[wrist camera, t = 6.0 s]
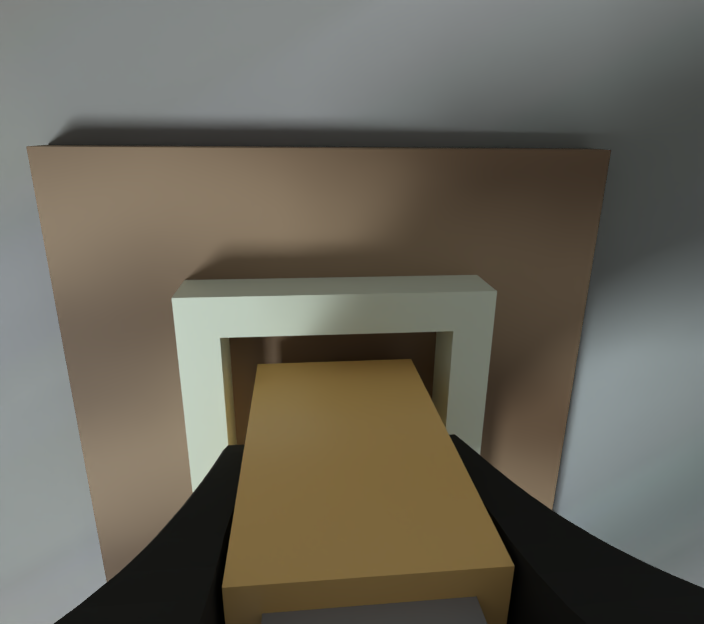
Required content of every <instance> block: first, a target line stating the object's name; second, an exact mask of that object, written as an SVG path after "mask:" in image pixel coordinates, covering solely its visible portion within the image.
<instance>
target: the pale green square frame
mask: <svg viewBox="0 0 704 624" xmlns="http://www.w3.org/2000/svg"><path fill="white" fill-rule="evenodd" d="M496 297H497V291H496V290H495V289H494V288H493V287H491V286H490V285H489V284H488V283H486V282H485V281H484V280H483V279H482V278H480V277H479V276H478V275H438V276H382V277H326V278H270V279H214V280H184V282H183V283H182V284H181V286H180V287H179V288H178V290H177V291H176V293H175V294H174V295H173V297H172V307H173V317H174V326H175V335H176V344H177V354H178V363H179V372H180V381H181V391H182V400H183V409H184V418H185V428H186V437H187V446H188V455H189V465H190V474H191V483H192V492H194V491H195V489H196V488H197V487H198V486H199V484H200V483H201V482H202V480H203V479H204V478H205V476H206V475H207V473H208V472H209V471H210V469H211V468H212V466H213V465H214V463H215V462H216V460H217V459H218V457H219V456H220V454H221V453H222V451H223V450H224V449H225V448H226V447H227V446H228V445H237V440H236V426H235V412H234V398H233V384H232V370H231V357H230V343H229V338H232V337H267V336H302V335H337V334H372V333H408V332H436V347H435V362H434V377H433V392H432V402H433V404H434V406H435V408H436V410H437V412H438V414H439V416H440V418H441V420H442V422H443V424H444V426H445V428H446V430H447V432H448V434H449V435H451V434H455V435H456V436H458V437H459V438H460V439H461V440H463V441H464V442H465V443H466V444H467V445H469V446H470V447H471V448H472V449H473V450H475V451H476V452H477V453H478V454H479V455H480V451H481V441H482V431H483V422H484V412H485V403H486V393H487V383H488V374H489V364H490V355H491V345H492V336H493V326H494V316H495V307H496Z"/></svg>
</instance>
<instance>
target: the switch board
mask: <svg viewBox="0 0 704 624" xmlns="http://www.w3.org/2000/svg"><path fill="white" fill-rule="evenodd" d="M27 153H28V158H29V164H30V169H31V174H32V180H33V185H34V191H35V196H36V201H37V207H38V212H39V218H40V223H41V228H42V234H43V239H44V245H45V250H46V256H47V261H48V266H49V272H50V277H51V283H52V288H53V293H54V299H55V304H56V310H57V315H58V320H59V326H60V331H61V337H62V342H63V348H64V353H65V358H66V364H67V369H68V375H69V380H70V385H71V391H72V396H73V402H74V407H75V412H76V418H77V423H78V429H79V434H80V440H81V445H82V450H83V456H84V461H85V467H86V472H87V477H88V483H89V488H90V494H91V499H92V504H93V510H94V515H95V521H96V526H97V532H98V537H99V542H100V548H101V553H102V559H103V564H104V569H105V575H106V580H107V582H108V581H109V580H110V579H112V578H113V577H114V576H115V575H116V574H118V573H119V572H120V571H121V570H122V569H123V568H124V567H125V566H126V565H127V564H129V563H130V562H131V561H132V560H133V559H134V558H135V557H136V556H137V555H138V554H139V553H140V552H141V551H142V550H143V549H144V548H145V547H146V546H147V545H148V544H149V543H150V542H151V541H152V540H153V539H154V538H155V537H156V536H157V535H158V533H159V532H160V531H161V530H162V529H163V528H164V527H165V526H166V524H167V523H168V522H169V521H170V520H171V519H172V518H173V516H174V515H175V514H176V513H177V512H178V511H179V510H180V508H181V507H182V506H183V505H184V504H185V502H186V501H187V500H188V498H189V497H190V496H191V495H192V493H193V492H192V483H191V474H190V465H189V455H188V446H187V437H186V428H185V418H184V409H183V400H182V391H181V381H180V372H179V363H178V354H177V344H176V335H175V326H174V317H173V307H172V297H173V295H174V294H175V293H176V291H177V290H178V288H179V287H180V286H181V284H182V283H183V282H184V280H214V279H270V278H326V277H382V276H438V275H478V276H479V277H480V278H482V279H483V280H484V281H485V282H486V283H488V284H489V285H490V286H491V287H493V288H494V289H495V290H496V291H497V297H496V307H495V316H494V326H493V336H492V345H491V355H490V364H489V374H488V383H487V393H486V403H485V412H484V422H483V431H482V441H481V451H480V456H482V457H483V458H484V459H485V460H486V461H488V462H489V463H490V464H491V465H492V466H494V467H495V468H496V469H497V470H499V471H500V472H501V473H502V474H504V475H505V476H506V477H507V478H509V479H510V480H511V481H512V482H514V483H515V484H516V485H518V486H519V487H520V488H522V489H523V490H524V491H526V492H527V493H528V494H530V495H531V496H532V497H534V498H535V499H537V500H538V501H540V502H541V503H542V504H544V505H545V506H547V507H548V508H550V509H551V510H552V508H553V502H554V496H555V490H556V484H557V478H558V472H559V465H560V459H561V453H562V447H563V441H564V435H565V429H566V423H567V416H568V410H569V404H570V398H571V392H572V386H573V380H574V374H575V368H576V361H577V355H578V349H579V343H580V337H581V331H582V325H583V319H584V313H585V306H586V300H587V294H588V288H589V282H590V276H591V270H592V264H593V257H594V251H595V245H596V239H597V233H598V227H599V221H600V215H601V209H602V202H603V196H604V190H605V184H606V178H607V172H608V166H609V160H610V153H611V150H603V149H575V148H418V147H262V146H106V145H41V146H27ZM229 343H230V357H231V370H232V384H233V398H234V412H235V426H236V440H237V445H244V444H245V440H246V433H247V427H248V421H249V415H250V408H251V402H252V396H253V390H254V383H255V377H256V371H257V365H258V364H277V363H306V362H336V361H365V360H395V359H411V360H412V362H413V364H414V366H415V368H416V370H417V372H418V374H419V376H420V378H421V380H422V382H423V384H424V386H425V388H426V390H427V392H428V394H429V396H430V398H431V400H432V392H433V377H434V362H435V347H436V332H408V333H372V334H337V335H302V336H267V337H232V338H229Z"/></svg>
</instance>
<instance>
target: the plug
mask: <svg viewBox="0 0 704 624" xmlns="http://www.w3.org/2000/svg"><path fill="white" fill-rule="evenodd" d="M514 567H515V566H514V564H513V562H512V560H511V558H510V556H509V554H508V552H507V550H506V548H505V546H504V544H503V542H502V540H501V538H500V536H499V534H498V532H497V530H496V528H495V526H494V524H493V522H492V520H491V518H490V516H489V514H488V512H487V510H486V508H485V506H484V504H483V502H482V500H481V498H480V496H479V494H478V492H477V490H476V488H475V486H474V484H473V482H472V480H471V478H470V476H469V474H468V472H467V470H466V468H465V466H464V464H463V462H462V460H461V458H460V456H459V454H458V452H457V450H456V448H455V446H454V444H453V442H452V440H451V438H450V436H449V434H448V432H447V430H446V428H445V426H444V424H443V422H442V420H441V418H440V416H439V414H438V412H437V410H436V408H435V406H434V404H433V402H432V400H431V398H430V396H429V394H428V392H427V390H426V388H425V386H424V384H423V382H422V380H421V378H420V376H419V374H418V372H417V370H416V368H415V366H414V364H413V362H412V360H411V359H395V360H365V361H336V362H306V363H277V364H258V365H257V371H256V377H255V383H254V390H253V396H252V402H251V408H250V415H249V421H248V427H247V433H246V440H245V446H244V452H243V458H242V465H241V471H240V477H239V483H238V490H237V496H236V502H235V508H234V515H233V521H232V527H231V533H230V540H229V546H228V552H227V559H226V565H225V571H224V577H223V584H222V595H223V606H224V617H225V624H507V617H508V610H509V603H510V596H511V588H512V581H513V574H514Z"/></svg>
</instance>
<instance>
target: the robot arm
mask: <svg viewBox="0 0 704 624" xmlns="http://www.w3.org/2000/svg"><path fill="white" fill-rule="evenodd" d="M449 436H450V438H451V440H452V442H453V444H454V446H455V448H456V450H457V452H458V454H459V456H460V458H461V460H462V462H463V464H464V466H465V468H466V470H467V472H468V474H469V476H470V478H471V480H472V482H473V484H474V486H475V488H476V490H477V492H478V494H479V496H480V498H481V500H482V502H483V504H484V506H485V508H486V510H487V512H488V514H489V516H490V518H491V520H492V522H493V524H494V526H495V528H496V530H497V532H498V534H499V536H500V538H501V540H502V542H503V544H504V546H505V548H506V550H507V552H508V554H509V556H510V558H511V560H512V562H513V564H514V566H515V567H514V574H513V581H512V588H511V596H510V603H509V610H508V617H507V624H704V588H702V587H700V586H697V585H695V584H692V583H690V582H688V581H685V580H683V579H680V578H678V577H675V576H673V575H671V574H669V573H666V572H664V571H662V570H660V569H658V568H655V567H653V566H651V565H649V564H647V563H645V562H643V561H641V560H639V559H637V558H635V557H633V556H631V555H629V554H627V553H625V552H623V551H621V550H619V549H617V548H615V547H613V546H611V545H609V544H607V543H605V542H604V541H602V540H600V539H598V538H596V537H595V536H593V535H591V534H590V533H588V532H586V531H585V530H583V529H581V528H580V527H578V526H576V525H574V524H573V523H571V522H569V521H568V520H566V519H565V518H563V517H562V516H560V515H558V514H557V513H555V512H554V511H552V510H551V509H550V508H548V507H547V506H545V505H544V504H542V503H541V502H540V501H538V500H537V499H535V498H534V497H532V496H531V495H530V494H528V493H527V492H526V491H524V490H523V489H522V488H520V487H519V486H518V485H516V484H515V483H514V482H512V481H511V480H510V479H509V478H507V477H506V476H505V475H504V474H502V473H501V472H500V471H499V470H497V469H496V468H495V467H494V466H492V465H491V464H490V463H489V462H488V461H486V460H485V459H484V458H483V457H482V456H480V455H479V454H478V453H477V452H476V451H475V450H473V449H472V448H471V447H470V446H469V445H467V444H466V443H465V442H464V441H463V440H461V439H460V438H459V437H458V436H456V435H455V434H451V435H449ZM244 446H245V444H244V445H228V446H227V447H226V448H225V449H224V450H223V451H222V453H221V454H220V456H219V457H218V459H217V460H216V462H215V463H214V465H213V466H212V468H211V469H210V471H209V472H208V473H207V475H206V476H205V478H204V479H203V480H202V482H201V483H200V484H199V486H198V487H197V488H196V489H195V491H194V492H193V493H192V495H191V496H190V497H189V498H188V500H187V501H186V502H185V504H184V505H183V506H182V507H181V508H180V510H179V511H178V512H177V513H176V514H175V515H174V516H173V518H172V519H171V520H170V521H169V522H168V523H167V524H166V526H165V527H164V528H163V529H162V530H161V531H160V532H159V533H158V535H157V536H156V537H155V538H154V539H153V540H152V541H151V542H150V543H149V544H148V545H147V546H146V547H145V548H144V549H143V550H142V551H141V552H140V553H139V554H138V555H137V556H136V557H135V558H134V559H133V560H132V561H131V562H130V563H129V564H127V565H126V566H125V567H124V568H123V569H122V570H121V571H120V572H119V573H118V574H116V575H115V576H114V577H113V578H112V579H110V580H109V581H108V582H107V583H106V584H104V585H103V586H102V587H101V588H99V589H98V590H97V591H96V592H95V593H93V594H92V595H91V596H90V597H88V598H87V599H86V600H85V601H84V602H82V603H81V604H80V605H78V606H77V607H76V608H75V609H73V610H72V611H70V612H69V613H68V614H66V615H65V616H64V617H62V618H61V619H59V620H58V621H57V622H55V623H54V624H225V617H224V606H223V595H222V584H223V577H224V571H225V565H226V559H227V552H228V546H229V540H230V533H231V527H232V521H233V515H234V508H235V502H236V496H237V490H238V483H239V477H240V471H241V465H242V458H243V452H244Z"/></svg>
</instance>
